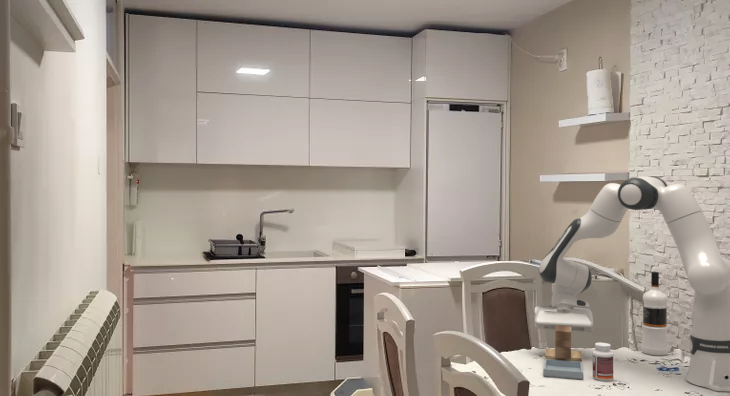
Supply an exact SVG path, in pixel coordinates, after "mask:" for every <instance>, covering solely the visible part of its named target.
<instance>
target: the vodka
mask: <svg viewBox="0 0 730 396" xmlns="http://www.w3.org/2000/svg"><path fill="white" fill-rule="evenodd" d="M650 274H651V275H650V278H651V279H650V281H651V283H650V285H651V286H650V289H649V290H648V291H646V292H645V293H643V295H642V325H641V327H642V336H641V337H642V339H641V345H640V350H641V352H642V353H643V354H645V355H647V356H656V357H663V356H666V355H668V354H669V345H668V332H667V331H668V326H667V317H668V313H667V311H668V309H667V308H668V300H669V299H668V296H667V295H666V294H665V293H663V291H661V290H660V272H658V271H651V272H650Z"/></svg>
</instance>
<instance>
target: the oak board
mask: <svg viewBox="0 0 730 396" xmlns="http://www.w3.org/2000/svg"><path fill="white" fill-rule="evenodd" d="M545 359H552V360H565V361H578V362H582V363H583V356H582V350H571V359H568V358H555V348H545V352H544V360H545Z"/></svg>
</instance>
